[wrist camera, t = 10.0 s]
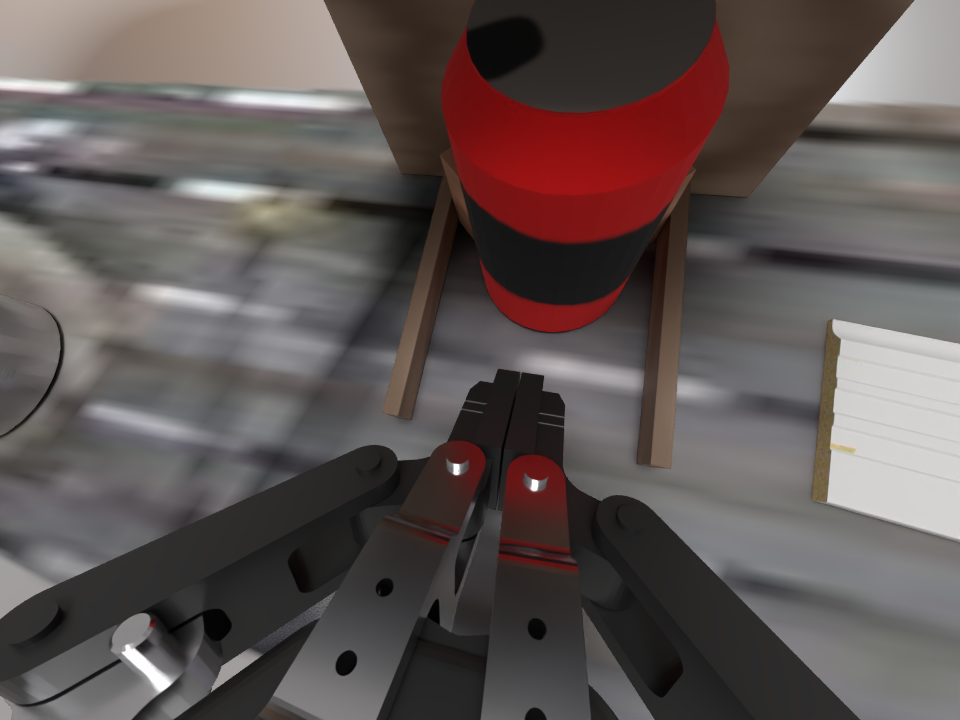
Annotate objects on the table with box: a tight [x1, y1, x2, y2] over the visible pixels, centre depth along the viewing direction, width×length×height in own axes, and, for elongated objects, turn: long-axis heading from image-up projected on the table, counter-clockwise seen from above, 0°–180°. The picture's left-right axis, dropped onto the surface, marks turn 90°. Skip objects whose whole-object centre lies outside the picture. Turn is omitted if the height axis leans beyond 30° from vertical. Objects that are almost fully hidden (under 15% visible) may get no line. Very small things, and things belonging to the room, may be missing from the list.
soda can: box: [441, 0, 730, 332], centre depth 14 cm, size 8×8×12 cm
